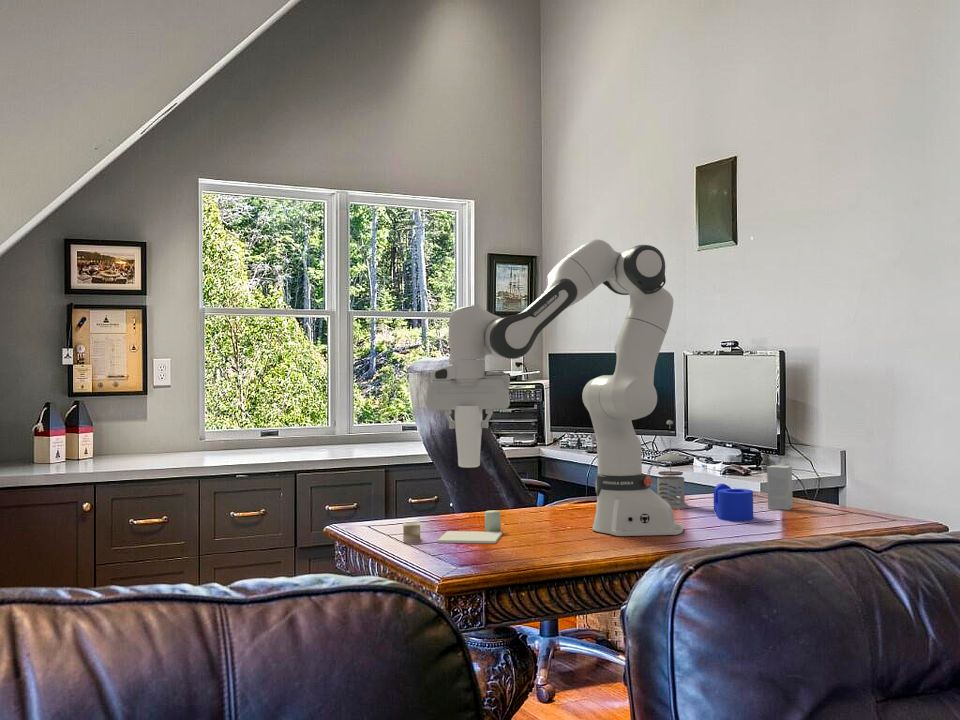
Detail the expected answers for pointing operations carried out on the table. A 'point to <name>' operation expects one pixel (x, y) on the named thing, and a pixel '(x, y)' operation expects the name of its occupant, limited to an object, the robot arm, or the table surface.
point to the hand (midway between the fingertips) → (468, 428)
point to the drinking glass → (468, 435)
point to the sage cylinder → (492, 521)
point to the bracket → (733, 503)
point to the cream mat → (469, 537)
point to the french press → (670, 480)
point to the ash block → (411, 532)
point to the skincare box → (779, 487)
